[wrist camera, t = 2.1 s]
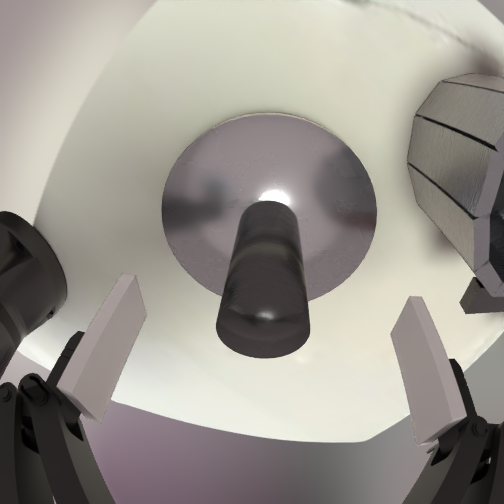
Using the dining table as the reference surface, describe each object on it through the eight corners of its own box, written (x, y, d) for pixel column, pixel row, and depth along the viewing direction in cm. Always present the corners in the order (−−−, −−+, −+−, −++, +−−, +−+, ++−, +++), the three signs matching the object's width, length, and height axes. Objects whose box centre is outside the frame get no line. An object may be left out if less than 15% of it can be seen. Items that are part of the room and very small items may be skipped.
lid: (182, 279, 26) (142, 388, 16) (167, 110, 18) (59, 157, 8) (344, 290, 25) (368, 404, 16) (381, 124, 17) (484, 186, 7)
